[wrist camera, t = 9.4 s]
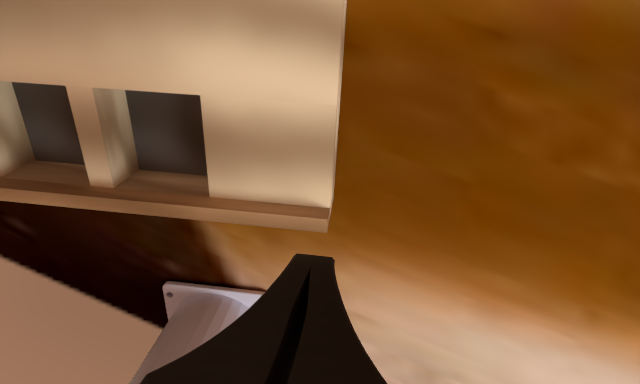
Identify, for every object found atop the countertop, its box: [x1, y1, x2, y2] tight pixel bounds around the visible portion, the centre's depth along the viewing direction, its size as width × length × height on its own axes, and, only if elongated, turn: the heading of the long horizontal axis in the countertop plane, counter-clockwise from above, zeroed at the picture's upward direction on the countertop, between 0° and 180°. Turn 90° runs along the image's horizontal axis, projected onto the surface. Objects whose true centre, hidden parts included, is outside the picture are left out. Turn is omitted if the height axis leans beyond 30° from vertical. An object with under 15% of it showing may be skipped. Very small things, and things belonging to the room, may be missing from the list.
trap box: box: [0, 0, 347, 233], centre depth 20 cm, size 14×26×4 cm, turn 87°
